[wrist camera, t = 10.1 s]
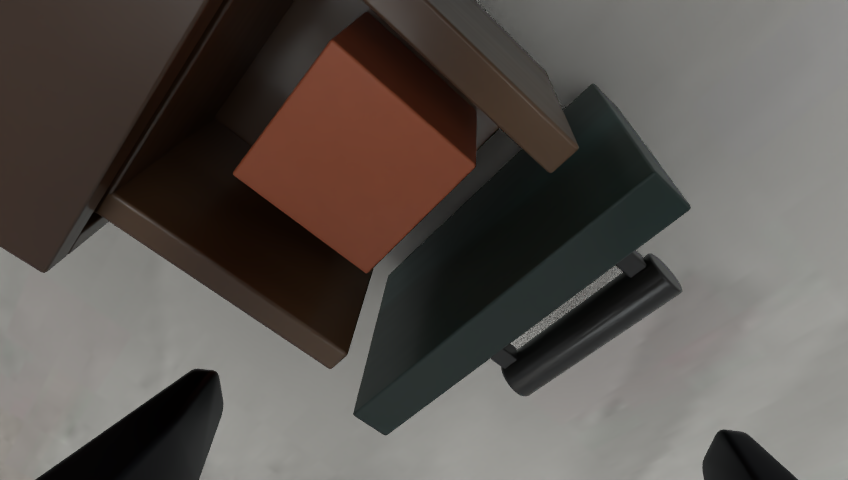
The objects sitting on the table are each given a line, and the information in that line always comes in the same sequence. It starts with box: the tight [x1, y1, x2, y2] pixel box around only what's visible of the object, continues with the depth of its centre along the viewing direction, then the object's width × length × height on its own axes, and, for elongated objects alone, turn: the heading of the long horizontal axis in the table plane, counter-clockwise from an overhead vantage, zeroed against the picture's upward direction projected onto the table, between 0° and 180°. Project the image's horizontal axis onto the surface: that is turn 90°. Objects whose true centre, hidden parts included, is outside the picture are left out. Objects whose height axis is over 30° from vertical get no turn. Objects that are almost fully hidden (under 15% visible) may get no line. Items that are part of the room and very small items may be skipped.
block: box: [233, 12, 477, 273], centre depth 15 cm, size 4×4×4 cm
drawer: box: [94, 0, 691, 435], centre depth 15 cm, size 14×10×7 cm
